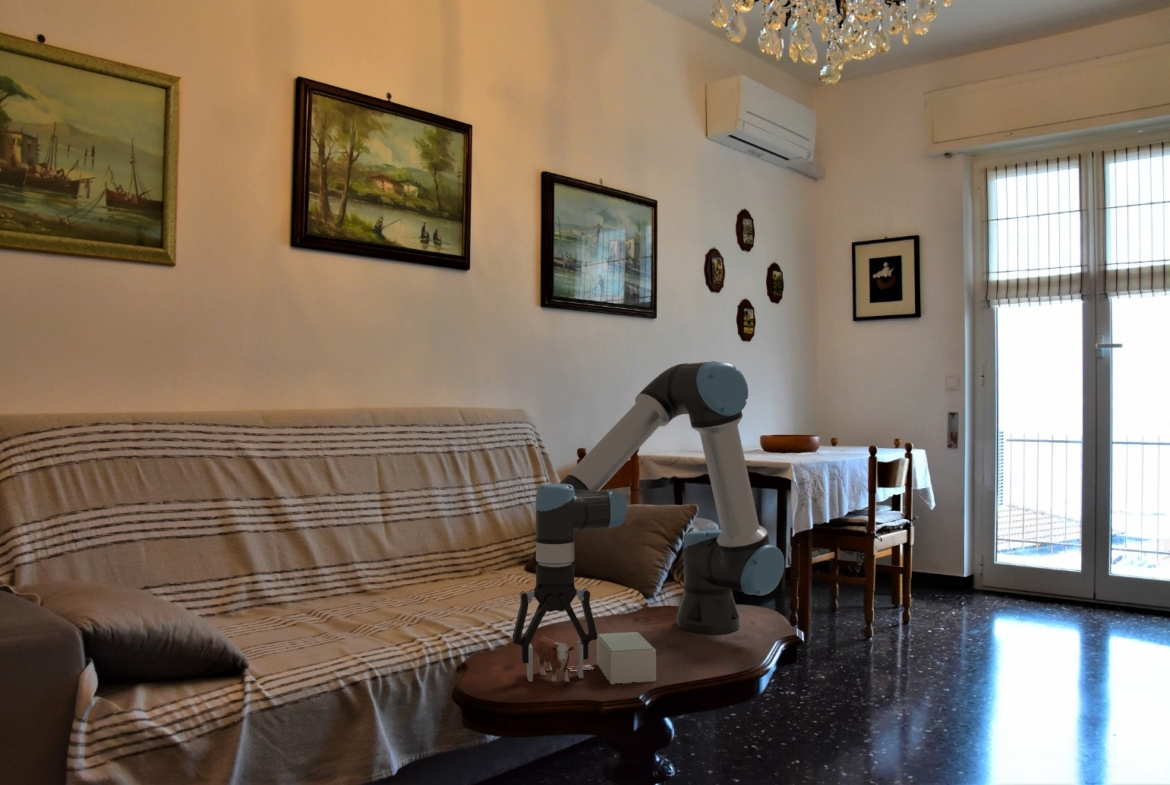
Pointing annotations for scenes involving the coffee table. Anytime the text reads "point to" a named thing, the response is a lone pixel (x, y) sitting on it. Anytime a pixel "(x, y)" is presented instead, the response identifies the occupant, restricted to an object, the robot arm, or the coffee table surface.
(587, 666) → the page
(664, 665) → the coffee table surface
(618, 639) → the plinth
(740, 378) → the robot arm
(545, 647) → the bull figurine
